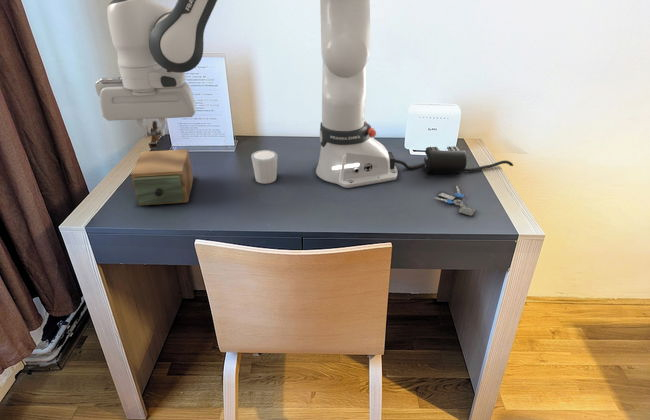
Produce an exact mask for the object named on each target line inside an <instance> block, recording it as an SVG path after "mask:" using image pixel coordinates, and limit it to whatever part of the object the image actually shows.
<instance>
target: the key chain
mask: <svg viewBox="0 0 650 420" xmlns="http://www.w3.org/2000/svg"><path fill="white" fill-rule="evenodd" d="M455 190H456V192H455V193H454V196H452V195H451V194H447V193H445V192H441V193H440V194H438V196H440V197H441V198H440V197H437V196H434V200H437V201H440V202H445V204H449V205H450V204H451V205H452V204H454V205H456V206H458V207H460V208H459V209H458V213H459V214H463V215H467V216H469V217H470V216H471V217H472V216H473V215H474V214H475V211H476V209H475V208H472V207H469V206H466V205H465V204H464V201H465V195H464V194H463V193H461V191H460V189H459V186H458V185H455ZM456 198H460V199H461V198H462V199H463V200H460V199H456Z"/></svg>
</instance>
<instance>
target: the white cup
mask: <svg viewBox="0 0 650 420" xmlns="http://www.w3.org/2000/svg"><path fill="white" fill-rule="evenodd" d="M250 157H251V162H252V168H253V172H254V177H255V178H254V179H255V182H257V183H259V184H271V183H274V182H275V181H276V180H277V177H278V175H277V174H278V173H277V170H278V154H277V152H275V151H273V150H269V149H262V150H257V151H254V152H253V153H251V156H250Z"/></svg>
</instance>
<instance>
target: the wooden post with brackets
mask: <svg viewBox="0 0 650 420" xmlns="http://www.w3.org/2000/svg"><path fill="white" fill-rule="evenodd" d="M151 124H152V126H151V127H152V129H153V130H152V135H151V140H150V142H148V147H149V150H158V149H159V145H158V142H160V141H161V140H160V139H161V136H157V131H156V129H157V127H158V121H157V120H152V123H151Z"/></svg>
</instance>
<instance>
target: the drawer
mask: <svg viewBox="0 0 650 420" xmlns="http://www.w3.org/2000/svg"><path fill="white" fill-rule="evenodd" d="M133 182H134V185H133V187H134V186H135V189H136V193H137V197H138V200H137V202H138V201H139V204H138V206H139V205H141V206H146V205H145V204H155V205H161V204H160V203H169V204H175V203H174V202H184V201H185V197H184V192H183V187H182V182H181V177H180V175H179V174H175V175H159V176H142V177H136V178H134V179H133V181H132V183H133ZM135 189H134V190H135ZM136 193H135V194H136ZM137 197H136V198H137ZM184 203H185V202H184Z"/></svg>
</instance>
